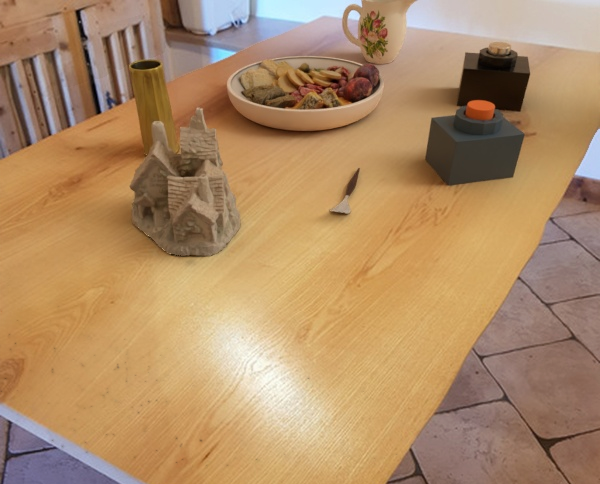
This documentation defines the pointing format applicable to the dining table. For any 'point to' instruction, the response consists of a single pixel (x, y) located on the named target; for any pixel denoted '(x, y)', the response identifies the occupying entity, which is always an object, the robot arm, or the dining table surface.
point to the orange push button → (480, 110)
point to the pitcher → (379, 28)
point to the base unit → (494, 79)
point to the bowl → (305, 92)
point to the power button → (499, 49)
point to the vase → (152, 101)
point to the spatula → (344, 206)
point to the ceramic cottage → (185, 192)
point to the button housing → (473, 148)
